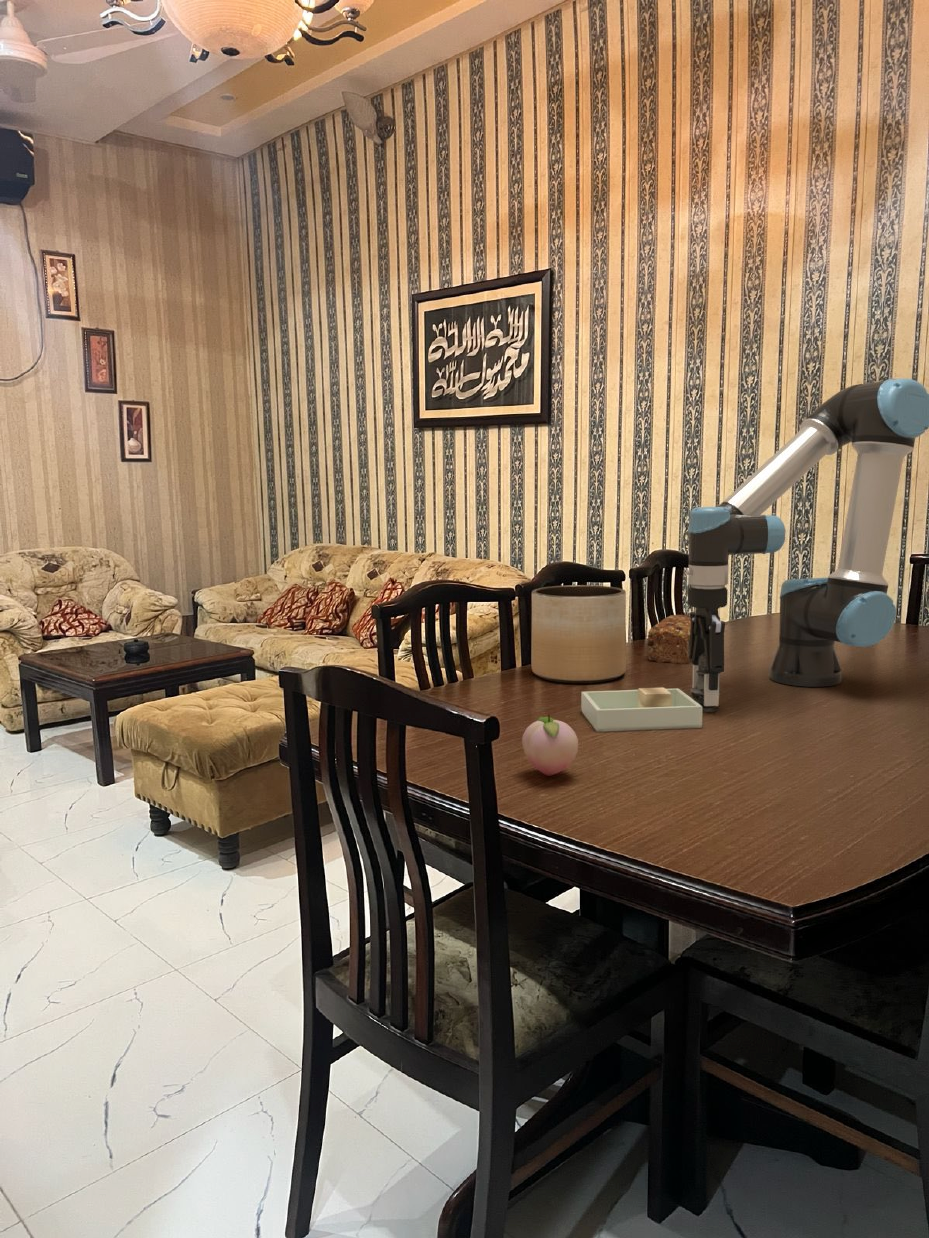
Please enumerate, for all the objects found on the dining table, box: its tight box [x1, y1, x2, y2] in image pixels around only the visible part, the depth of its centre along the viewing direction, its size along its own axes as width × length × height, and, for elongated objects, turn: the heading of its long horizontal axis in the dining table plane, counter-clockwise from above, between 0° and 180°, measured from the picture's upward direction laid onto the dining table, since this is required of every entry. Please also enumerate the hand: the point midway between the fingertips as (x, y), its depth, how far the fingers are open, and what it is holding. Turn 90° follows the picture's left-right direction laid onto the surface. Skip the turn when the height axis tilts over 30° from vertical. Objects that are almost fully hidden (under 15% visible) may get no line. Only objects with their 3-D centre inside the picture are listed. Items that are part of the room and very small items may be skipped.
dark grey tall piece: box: [689, 653, 722, 713], centre depth 179 cm, size 6×6×12 cm
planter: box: [530, 584, 627, 684], centre depth 210 cm, size 22×22×20 cm
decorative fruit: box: [521, 713, 579, 777], centre depth 140 cm, size 9×8×10 cm
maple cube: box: [637, 687, 671, 708], centre depth 172 cm, size 5×5×5 cm
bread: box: [647, 614, 691, 665], centre depth 230 cm, size 19×11×10 cm, turn 152°
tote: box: [580, 687, 703, 733], centre depth 172 cm, size 20×15×4 cm
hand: (705, 700), depth 179 cm, fingers open, 6 cm apart
